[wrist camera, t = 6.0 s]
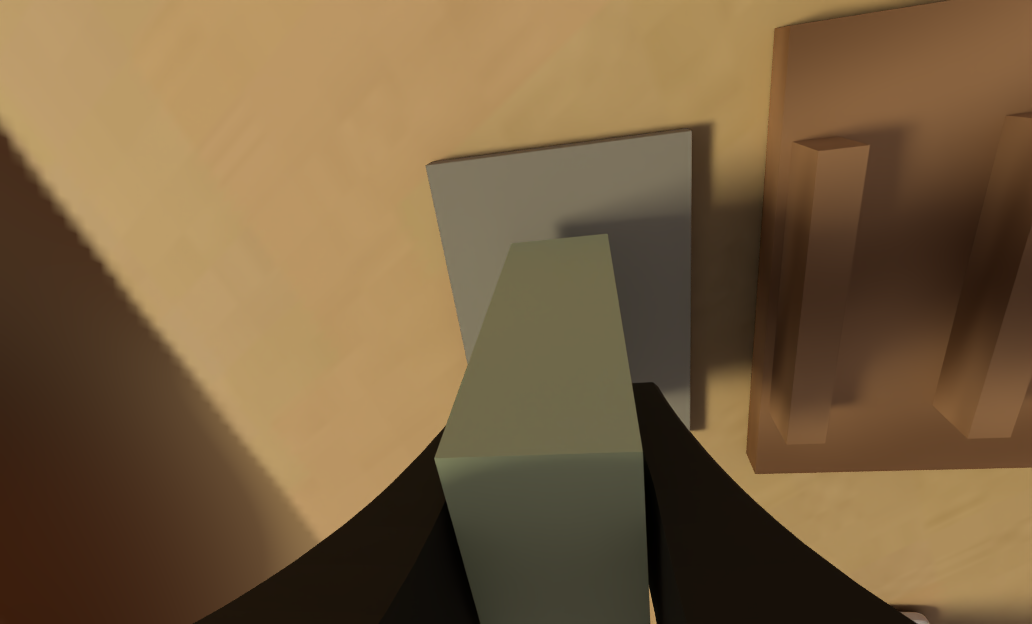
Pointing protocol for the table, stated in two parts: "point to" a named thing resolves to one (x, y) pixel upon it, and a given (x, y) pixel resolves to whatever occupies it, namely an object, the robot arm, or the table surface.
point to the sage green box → (550, 447)
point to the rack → (897, 244)
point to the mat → (582, 212)
